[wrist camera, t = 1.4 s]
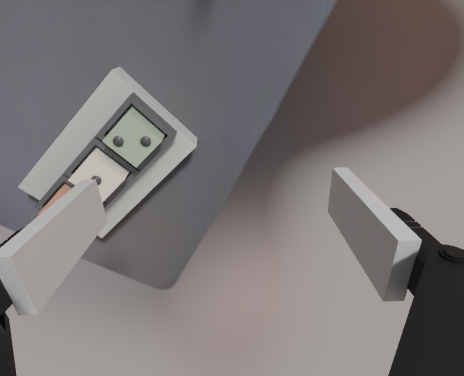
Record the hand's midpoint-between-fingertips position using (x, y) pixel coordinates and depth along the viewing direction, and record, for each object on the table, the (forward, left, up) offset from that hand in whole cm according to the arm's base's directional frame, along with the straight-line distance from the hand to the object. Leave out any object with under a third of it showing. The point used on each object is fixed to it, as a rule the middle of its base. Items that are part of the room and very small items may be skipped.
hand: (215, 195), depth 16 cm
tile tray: (-4, -14, -22) cm, 26 cm away
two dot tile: (-4, -8, -17) cm, 19 cm away
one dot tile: (-4, -14, -17) cm, 23 cm away
